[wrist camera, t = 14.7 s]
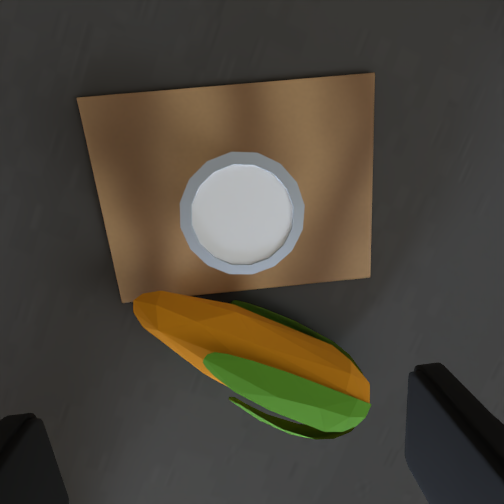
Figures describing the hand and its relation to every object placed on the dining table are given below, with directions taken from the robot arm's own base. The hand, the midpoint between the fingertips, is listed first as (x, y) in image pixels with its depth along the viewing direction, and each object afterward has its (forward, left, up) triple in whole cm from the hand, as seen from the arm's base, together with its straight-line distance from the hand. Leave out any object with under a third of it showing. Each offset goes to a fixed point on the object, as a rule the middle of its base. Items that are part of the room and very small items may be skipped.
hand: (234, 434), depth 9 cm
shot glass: (+1, +3, -19) cm, 19 cm away
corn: (+1, -9, -19) cm, 21 cm away
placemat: (+1, +3, -19) cm, 19 cm away
